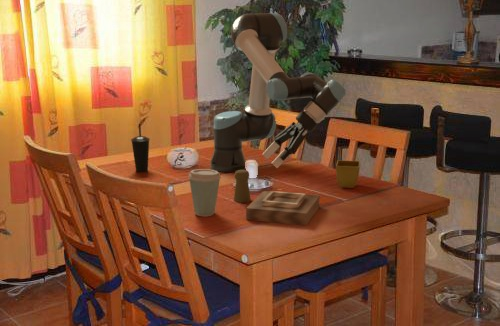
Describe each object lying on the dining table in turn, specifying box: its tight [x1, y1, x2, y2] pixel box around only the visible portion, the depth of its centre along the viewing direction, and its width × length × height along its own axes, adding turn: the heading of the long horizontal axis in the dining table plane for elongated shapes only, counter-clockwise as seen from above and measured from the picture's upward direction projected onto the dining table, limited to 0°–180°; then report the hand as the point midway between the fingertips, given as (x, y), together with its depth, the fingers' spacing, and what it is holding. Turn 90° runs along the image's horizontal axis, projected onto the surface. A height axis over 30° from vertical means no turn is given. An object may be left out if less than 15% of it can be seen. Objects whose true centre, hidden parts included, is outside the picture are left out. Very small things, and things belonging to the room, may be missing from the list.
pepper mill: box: [233, 169, 252, 204], centre depth 240 cm, size 6×6×11 cm
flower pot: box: [335, 159, 361, 189], centre depth 256 cm, size 9×9×9 cm
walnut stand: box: [245, 190, 321, 226], centre depth 226 cm, size 20×20×6 cm
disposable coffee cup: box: [188, 168, 221, 217], centre depth 224 cm, size 11×11×15 cm
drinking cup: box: [130, 123, 151, 173], centre depth 279 cm, size 8×8×20 cm
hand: (269, 161), depth 239 cm, fingers open, 13 cm apart
